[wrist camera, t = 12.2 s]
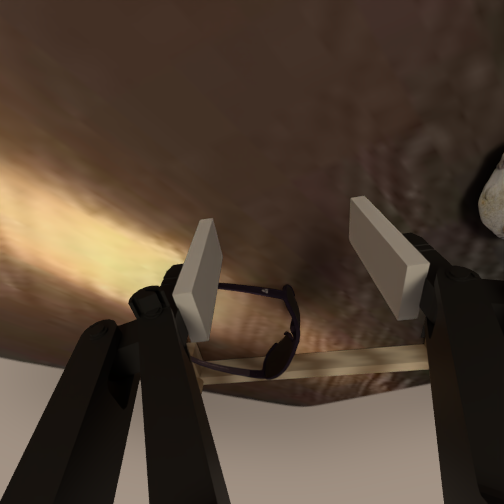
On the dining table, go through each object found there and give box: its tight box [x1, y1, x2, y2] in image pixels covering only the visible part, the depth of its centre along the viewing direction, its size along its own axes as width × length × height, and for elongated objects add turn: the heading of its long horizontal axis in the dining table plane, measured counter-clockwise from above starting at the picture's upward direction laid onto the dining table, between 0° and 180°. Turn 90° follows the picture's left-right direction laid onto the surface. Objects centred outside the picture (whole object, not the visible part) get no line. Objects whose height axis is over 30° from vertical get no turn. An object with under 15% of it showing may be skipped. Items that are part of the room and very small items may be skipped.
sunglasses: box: [163, 276, 300, 380], centre depth 31 cm, size 14×16×5 cm
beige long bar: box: [186, 337, 429, 394], centre depth 34 cm, size 32×6×4 cm, turn 99°
